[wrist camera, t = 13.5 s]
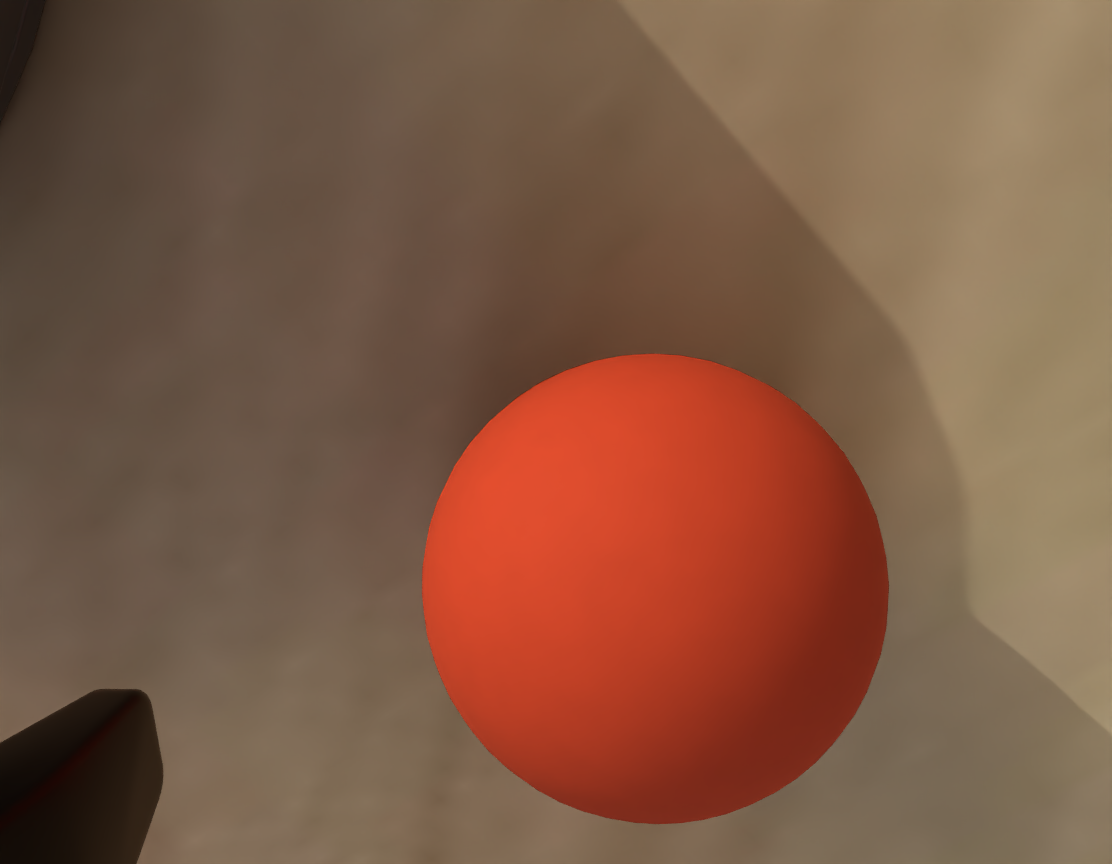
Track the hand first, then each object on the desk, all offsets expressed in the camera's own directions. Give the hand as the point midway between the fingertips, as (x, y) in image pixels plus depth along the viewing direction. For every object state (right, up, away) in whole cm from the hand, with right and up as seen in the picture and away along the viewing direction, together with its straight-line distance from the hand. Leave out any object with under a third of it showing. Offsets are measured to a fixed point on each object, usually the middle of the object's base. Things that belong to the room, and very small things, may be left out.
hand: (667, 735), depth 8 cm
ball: (0, +1, +2) cm, 3 cm away
